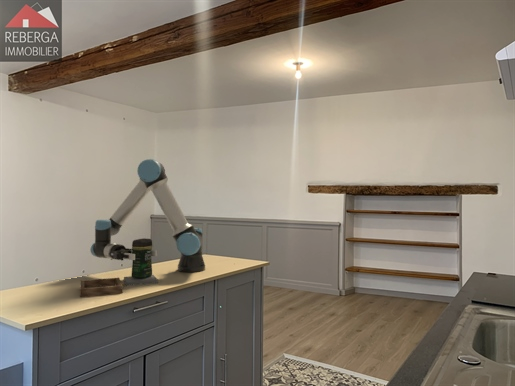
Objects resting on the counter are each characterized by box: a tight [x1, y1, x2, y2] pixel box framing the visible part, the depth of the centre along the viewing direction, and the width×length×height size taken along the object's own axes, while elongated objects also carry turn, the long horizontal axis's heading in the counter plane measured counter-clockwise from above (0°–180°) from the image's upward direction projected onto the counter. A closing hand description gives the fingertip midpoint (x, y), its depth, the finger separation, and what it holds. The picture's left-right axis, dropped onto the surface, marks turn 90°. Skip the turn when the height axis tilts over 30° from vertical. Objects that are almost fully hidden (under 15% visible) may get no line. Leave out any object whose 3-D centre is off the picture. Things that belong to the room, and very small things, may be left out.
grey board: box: [123, 274, 159, 286], centre depth 182 cm, size 14×13×2 cm
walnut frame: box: [79, 277, 123, 298], centre depth 164 cm, size 16×18×3 cm
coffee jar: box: [131, 238, 153, 279], centre depth 185 cm, size 10×8×19 cm
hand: (145, 255), depth 180 cm, fingers open, 13 cm apart
